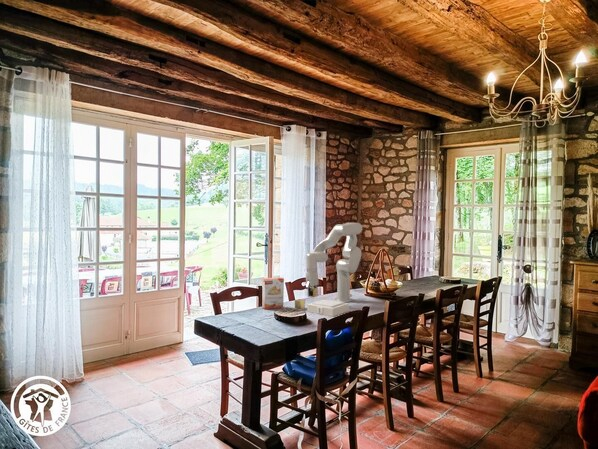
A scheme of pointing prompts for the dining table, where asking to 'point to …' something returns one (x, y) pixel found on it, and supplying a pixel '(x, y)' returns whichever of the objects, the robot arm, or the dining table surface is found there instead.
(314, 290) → the brass weight
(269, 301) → the cracker box
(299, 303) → the brass weight
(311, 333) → the dining table surface
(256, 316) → the dining table surface
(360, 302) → the dining table surface
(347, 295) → the robot arm
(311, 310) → the kitchen scale
